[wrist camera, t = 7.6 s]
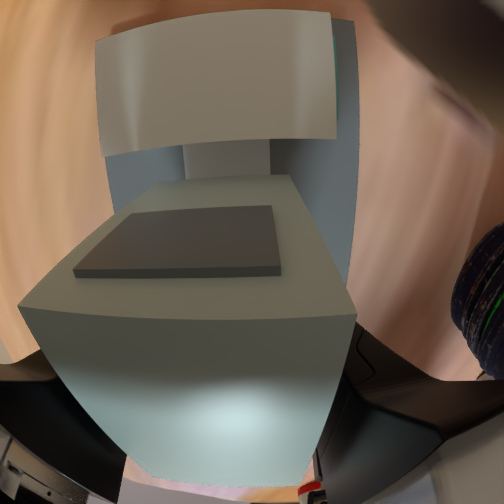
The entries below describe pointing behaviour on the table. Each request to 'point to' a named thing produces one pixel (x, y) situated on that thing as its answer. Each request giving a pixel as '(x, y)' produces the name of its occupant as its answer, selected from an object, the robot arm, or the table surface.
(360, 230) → the table surface
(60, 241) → the table surface
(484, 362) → the storage jar
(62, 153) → the table surface
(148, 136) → the board
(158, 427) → the block
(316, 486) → the kitchen timer
